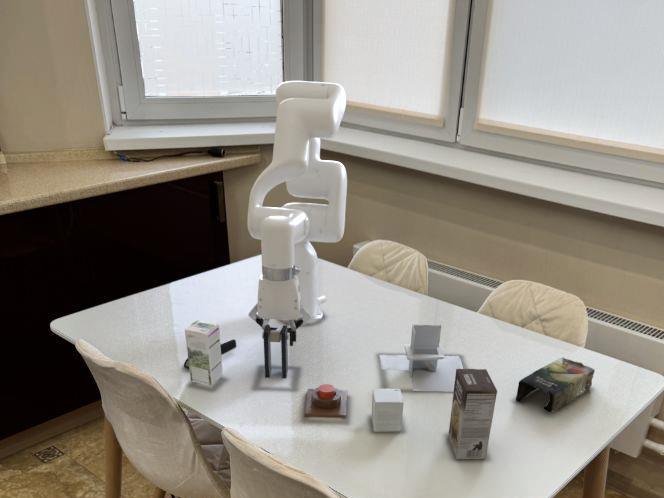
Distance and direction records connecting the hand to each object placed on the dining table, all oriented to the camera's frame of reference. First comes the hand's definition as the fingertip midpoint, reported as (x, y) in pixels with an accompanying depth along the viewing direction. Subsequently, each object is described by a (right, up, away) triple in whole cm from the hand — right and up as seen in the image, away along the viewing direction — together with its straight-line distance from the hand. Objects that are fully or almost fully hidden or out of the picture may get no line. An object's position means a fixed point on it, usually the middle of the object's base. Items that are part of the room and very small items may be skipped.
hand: (280, 342), depth 170 cm
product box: (+25, -21, -20) cm, 38 cm away
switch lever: (0, 0, -6) cm, 6 cm away
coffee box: (+42, -25, -27) cm, 56 cm away
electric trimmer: (-17, -4, +2) cm, 18 cm away
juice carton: (+66, -13, -7) cm, 67 cm away
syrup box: (-16, -11, -8) cm, 21 cm away
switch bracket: (0, -9, -5) cm, 10 cm away
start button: (+12, -14, -18) cm, 26 cm away
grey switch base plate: (+35, -8, +1) cm, 36 cm away
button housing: (+12, -17, -16) cm, 26 cm away
